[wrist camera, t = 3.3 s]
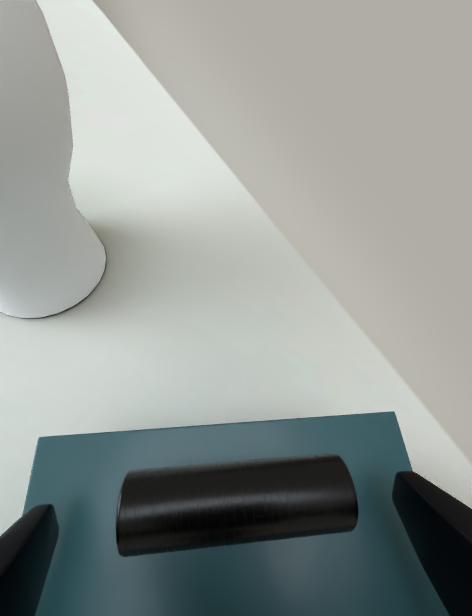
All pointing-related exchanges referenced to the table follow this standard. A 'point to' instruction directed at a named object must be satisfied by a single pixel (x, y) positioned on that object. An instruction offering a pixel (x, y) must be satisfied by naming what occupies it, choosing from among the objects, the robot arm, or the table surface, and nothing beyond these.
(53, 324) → the table surface
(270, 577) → the box lid
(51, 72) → the white vase
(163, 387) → the table surface
